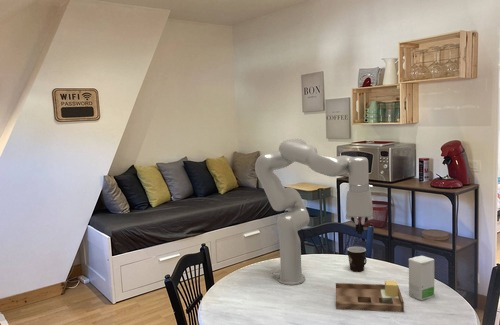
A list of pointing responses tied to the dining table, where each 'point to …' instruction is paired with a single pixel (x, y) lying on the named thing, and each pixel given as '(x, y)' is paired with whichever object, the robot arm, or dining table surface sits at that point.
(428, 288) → the skincare box
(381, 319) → the dining table surface
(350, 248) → the coffee mug
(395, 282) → the ochre block
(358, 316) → the dining table surface
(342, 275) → the dining table surface
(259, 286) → the dining table surface
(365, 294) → the board
